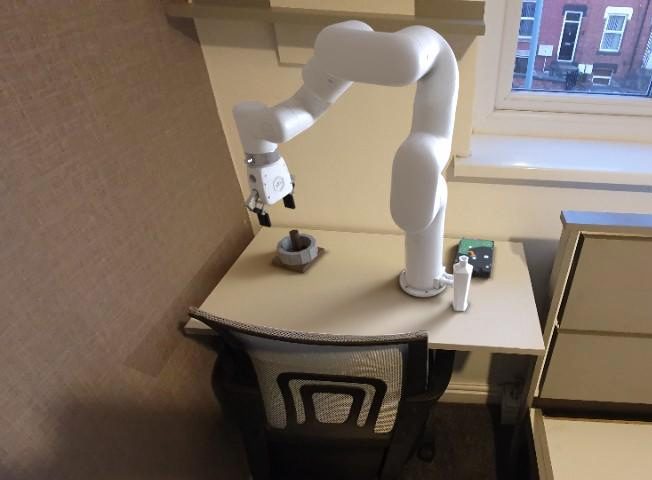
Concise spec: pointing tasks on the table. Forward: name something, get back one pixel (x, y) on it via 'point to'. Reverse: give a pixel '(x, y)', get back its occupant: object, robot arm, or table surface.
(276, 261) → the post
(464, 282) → the perfume bottle
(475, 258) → the disk drive
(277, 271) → the table surface
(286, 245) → the tape roll
